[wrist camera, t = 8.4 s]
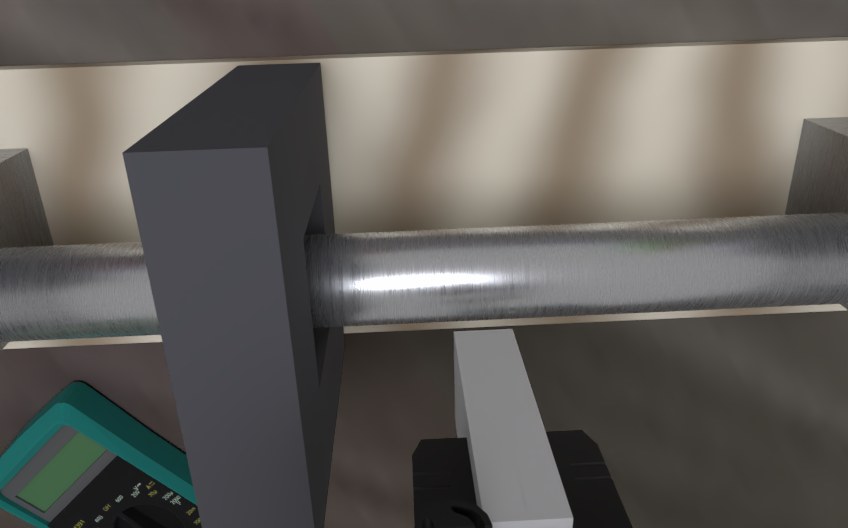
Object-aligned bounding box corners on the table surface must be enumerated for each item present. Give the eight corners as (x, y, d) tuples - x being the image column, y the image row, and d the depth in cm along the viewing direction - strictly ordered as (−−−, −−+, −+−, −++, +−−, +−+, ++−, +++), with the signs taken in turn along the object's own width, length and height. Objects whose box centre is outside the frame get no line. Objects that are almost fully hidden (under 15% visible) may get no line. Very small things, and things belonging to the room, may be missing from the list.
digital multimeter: (228, 597, 40) (217, 644, 37) (-6, 458, 35) (-39, 500, 32) (313, 525, 38) (308, 569, 35) (78, 367, 33) (51, 404, 30)
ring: (320, 62, 25) (267, 147, 14) (345, 344, 30) (319, 566, 19) (238, 65, 25) (122, 152, 14) (276, 348, 30) (211, 572, 19)
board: (902, 34, 28) (920, 37, 27) (837, 300, 33) (850, 310, 32) (-86, 69, 27) (-103, 73, 26) (1, 338, 32) (-11, 349, 31)
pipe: (876, 115, 28) (1069, 181, 20) (843, 251, 31) (1003, 357, 23) (-50, 151, 27) (-235, 235, 19) (-7, 288, 30) (-154, 413, 22)
